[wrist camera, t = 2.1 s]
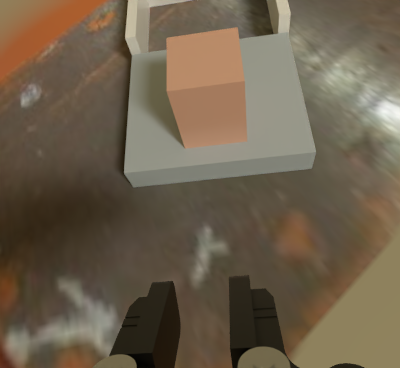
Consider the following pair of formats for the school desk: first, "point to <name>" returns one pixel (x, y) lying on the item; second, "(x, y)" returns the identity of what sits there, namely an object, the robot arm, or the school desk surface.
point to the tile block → (207, 87)
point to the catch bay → (141, 3)
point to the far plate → (225, 153)
